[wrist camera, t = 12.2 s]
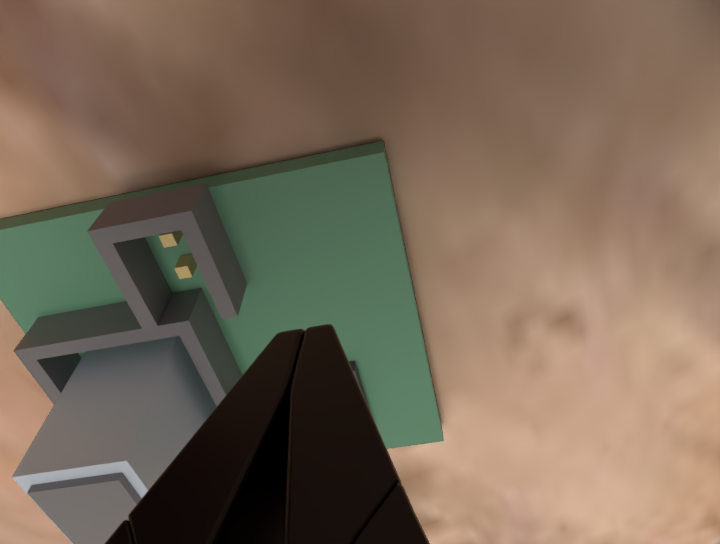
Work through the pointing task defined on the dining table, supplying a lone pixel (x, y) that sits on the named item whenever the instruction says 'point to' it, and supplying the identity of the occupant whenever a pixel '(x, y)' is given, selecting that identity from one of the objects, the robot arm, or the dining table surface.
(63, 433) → the plug
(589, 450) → the dining table surface
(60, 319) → the grey square frame
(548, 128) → the dining table surface
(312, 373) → the robot arm
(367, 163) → the board
